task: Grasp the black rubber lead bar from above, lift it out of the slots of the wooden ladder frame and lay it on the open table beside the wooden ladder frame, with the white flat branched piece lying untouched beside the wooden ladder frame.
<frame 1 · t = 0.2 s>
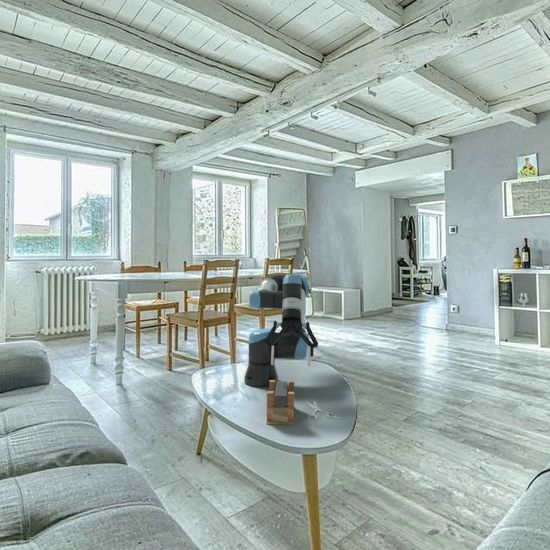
hand: (290, 364, 141), 16 cm above the table, tool tilted 30°, fingers open, 13 cm apart
wooden ladder frame: (280, 414, 134), on the table
white flat branched piece: (317, 411, 140), on the table
lead bar: (281, 399, 134), point 5 cm above the table, touching wooden ladder frame
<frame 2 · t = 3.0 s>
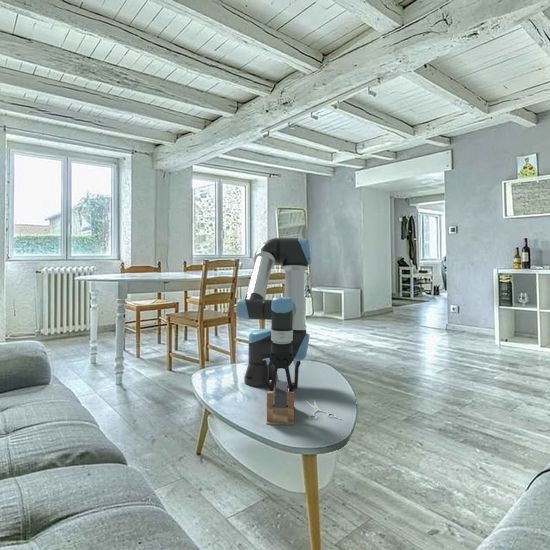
hand: (280, 407, 134), 3 cm above the table, tool pointing down, fingers closed on lead bar, 4 cm apart
lead bar: (281, 399, 134), point 6 cm above the table, touching wooden ladder frame, gripper
everything else where it was.
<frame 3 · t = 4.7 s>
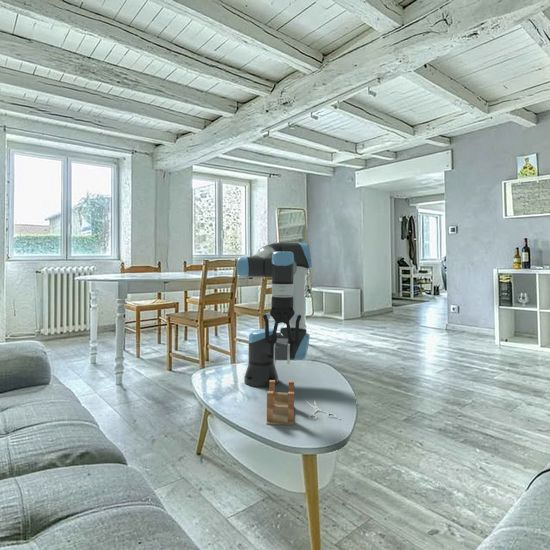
hand: (281, 362, 134), 18 cm above the table, tool pointing down, fingers closed on lead bar, 4 cm apart
lead bar: (281, 354, 134), point 21 cm above the table, touching gripper
everything else where it was.
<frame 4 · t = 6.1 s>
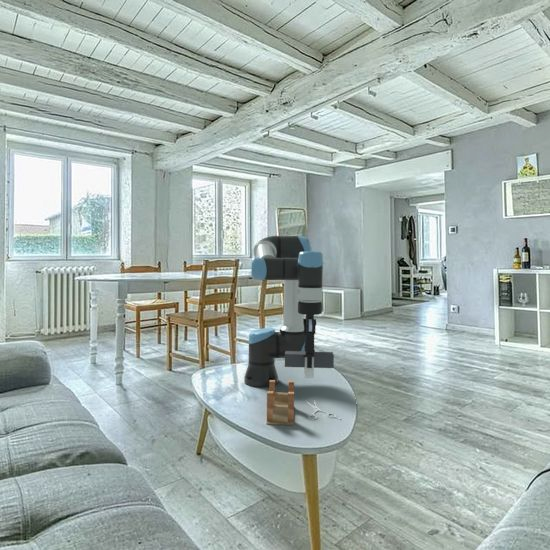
hand: (308, 375, 120), 18 cm above the table, tool pointing down, fingers closed on lead bar, 4 cm apart
lead bar: (308, 365, 120), point 21 cm above the table, touching gripper
everything else where it was.
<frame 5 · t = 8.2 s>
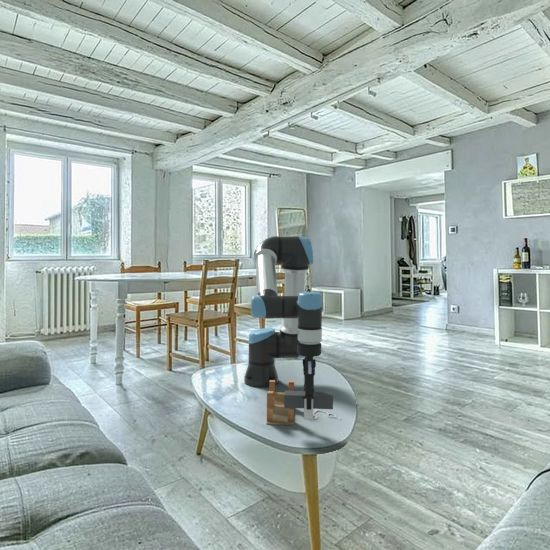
hand: (308, 415, 121), 5 cm above the table, tool pointing down, fingers closed on lead bar, 4 cm apart
lead bar: (308, 406, 121), point 8 cm above the table, touching gripper
everything else where it was.
when the fingers open (1 cm above the table, at t = 9.5 s): lead bar drops 4 cm, on the table.
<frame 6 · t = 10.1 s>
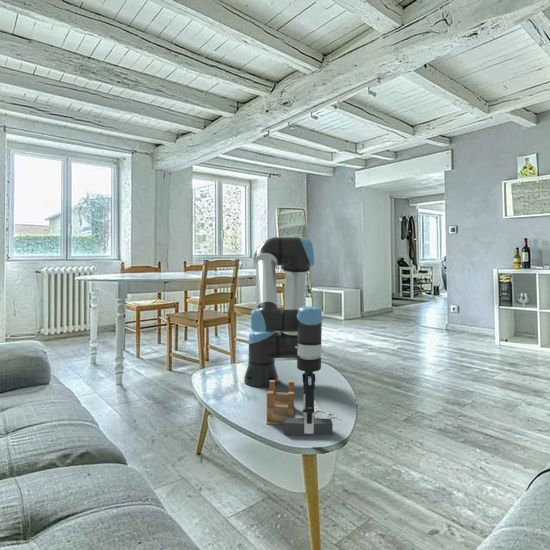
hand: (308, 423, 121), 3 cm above the table, tool pointing down, fingers open, 13 cm apart
lead bar: (307, 433, 121), on the table
everything else where it was.
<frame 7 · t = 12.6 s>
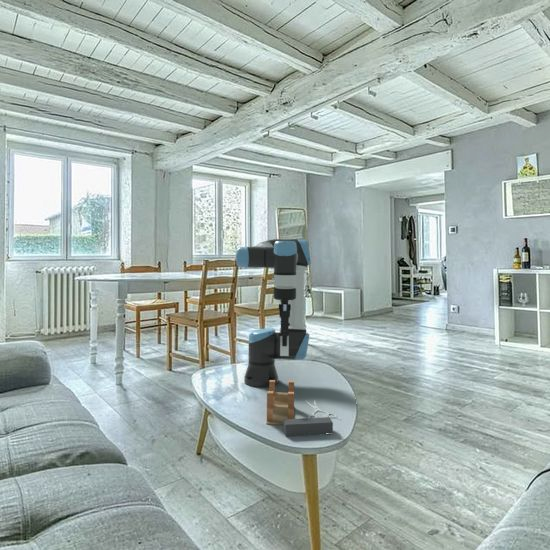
hand: (284, 350, 129), 24 cm above the table, tool pointing down, fingers open, 13 cm apart
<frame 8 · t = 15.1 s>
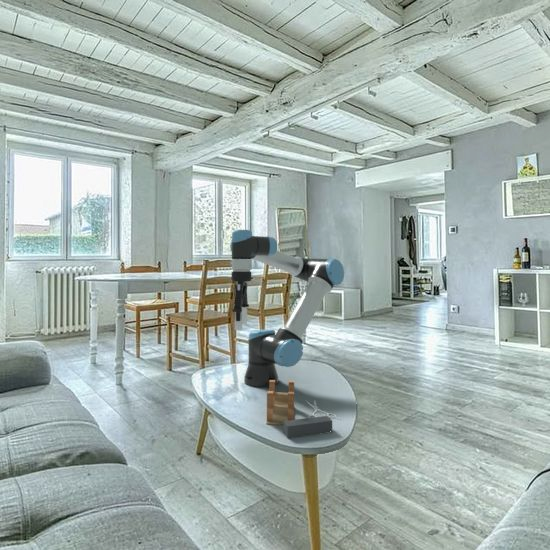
hand: (241, 326, 146), 29 cm above the table, tool pointing down, fingers open, 13 cm apart
at the end: lead bar inside the target area (0.8 cm from its centre), on the table; lead bar touching table; lead bar tilted 0° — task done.
